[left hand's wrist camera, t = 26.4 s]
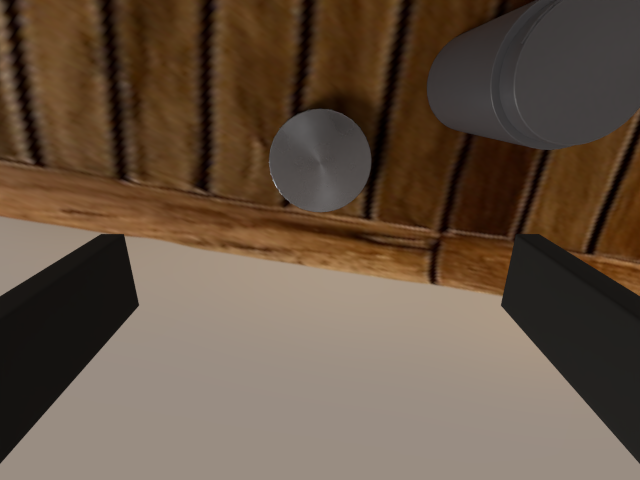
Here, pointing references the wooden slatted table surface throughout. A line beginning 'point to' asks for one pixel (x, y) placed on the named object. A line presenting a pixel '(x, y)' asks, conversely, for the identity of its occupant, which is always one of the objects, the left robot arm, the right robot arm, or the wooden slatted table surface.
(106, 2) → the wooden slatted table surface
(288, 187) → the lid
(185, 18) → the wooden slatted table surface
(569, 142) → the jar
